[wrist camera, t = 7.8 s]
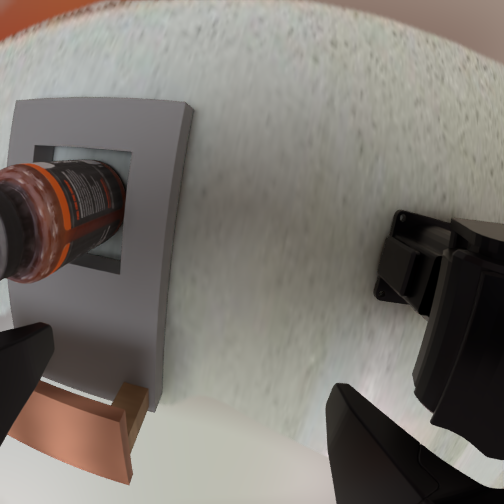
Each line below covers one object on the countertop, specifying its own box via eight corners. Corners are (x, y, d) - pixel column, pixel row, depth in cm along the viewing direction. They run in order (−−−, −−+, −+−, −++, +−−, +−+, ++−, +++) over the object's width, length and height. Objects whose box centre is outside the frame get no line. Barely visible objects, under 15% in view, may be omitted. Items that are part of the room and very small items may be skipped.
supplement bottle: (86, 142, 19) (-33, 139, 8) (146, 193, 20) (45, 227, 9) (47, 209, 20) (-65, 247, 10) (101, 259, 21) (2, 332, 11)
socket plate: (193, 109, 19) (185, 102, 16) (162, 393, 25) (154, 412, 22) (35, 104, 18) (16, 100, 16) (35, 354, 24) (22, 367, 22)
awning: (156, 346, 20) (119, 422, 13) (154, 412, 22) (129, 485, 15) (10, 303, 20) (-49, 347, 13) (22, 367, 22) (-23, 416, 14)
